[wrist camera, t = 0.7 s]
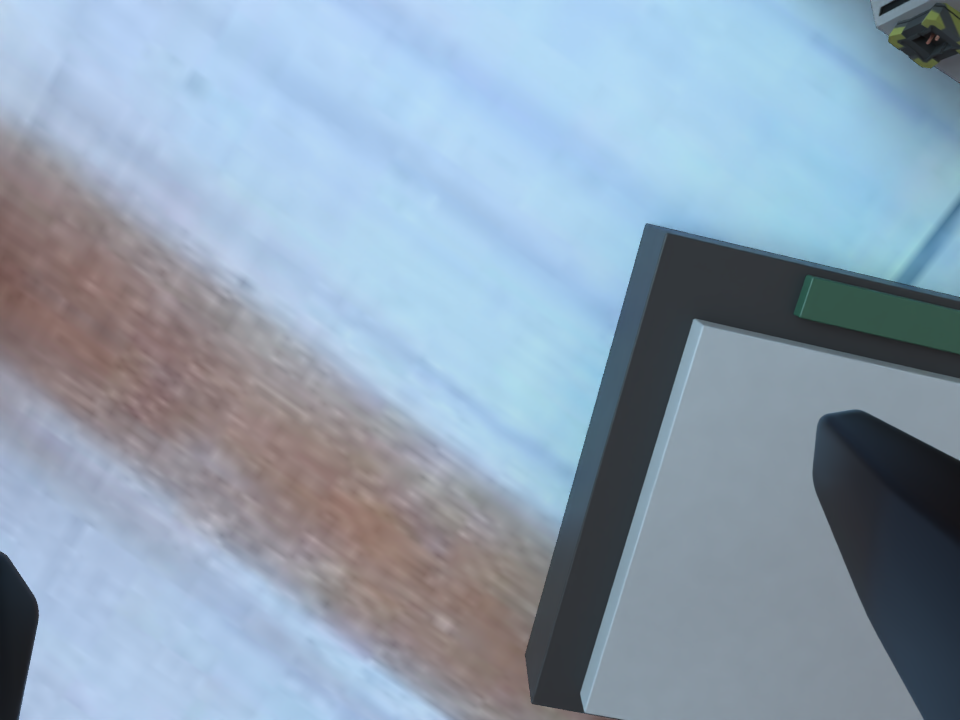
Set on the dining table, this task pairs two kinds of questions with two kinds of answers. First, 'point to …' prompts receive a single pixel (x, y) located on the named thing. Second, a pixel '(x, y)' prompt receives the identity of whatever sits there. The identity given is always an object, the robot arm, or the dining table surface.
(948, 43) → the figurine
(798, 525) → the kitchen scale
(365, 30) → the dining table surface
